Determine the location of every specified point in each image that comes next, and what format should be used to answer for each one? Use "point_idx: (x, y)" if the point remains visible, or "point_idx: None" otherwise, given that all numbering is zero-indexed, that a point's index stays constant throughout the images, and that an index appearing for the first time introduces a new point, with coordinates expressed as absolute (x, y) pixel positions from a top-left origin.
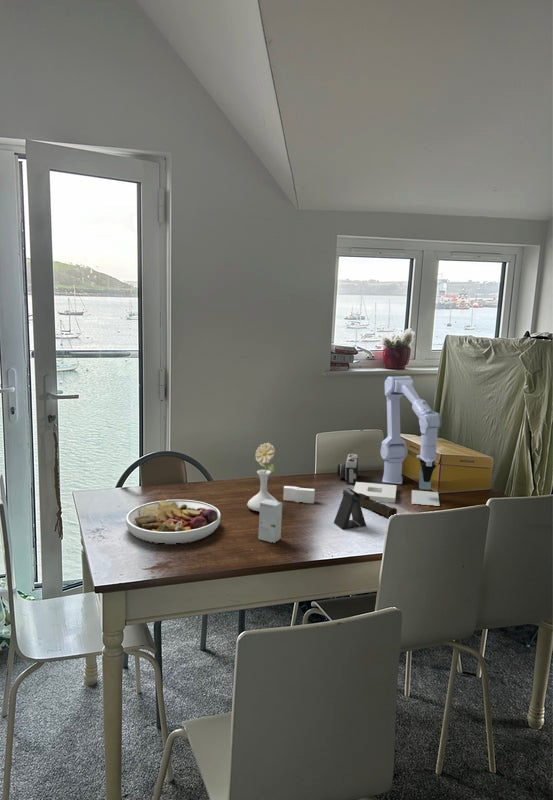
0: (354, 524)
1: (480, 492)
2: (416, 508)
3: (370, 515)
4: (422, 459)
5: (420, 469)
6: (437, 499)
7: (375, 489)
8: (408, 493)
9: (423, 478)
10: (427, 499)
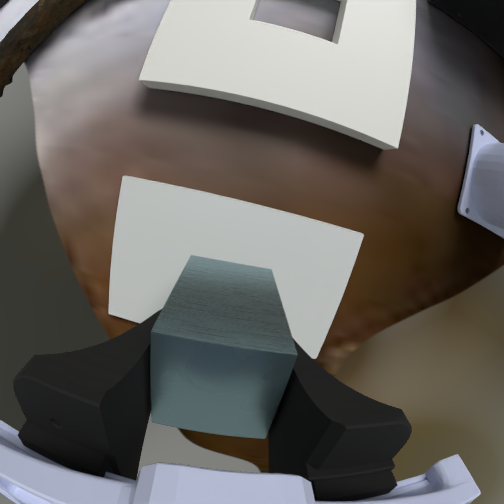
0: None
1: None
2: (82, 193)
3: None
4: (35, 465)
5: (224, 347)
6: None
7: (340, 20)
8: (331, 204)
9: (154, 316)
10: None
